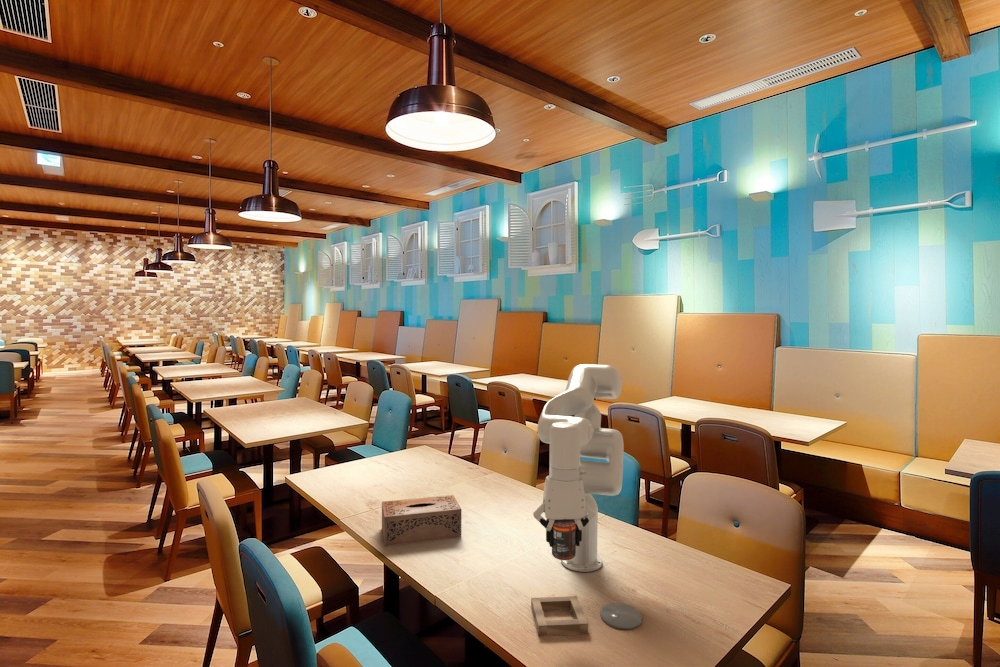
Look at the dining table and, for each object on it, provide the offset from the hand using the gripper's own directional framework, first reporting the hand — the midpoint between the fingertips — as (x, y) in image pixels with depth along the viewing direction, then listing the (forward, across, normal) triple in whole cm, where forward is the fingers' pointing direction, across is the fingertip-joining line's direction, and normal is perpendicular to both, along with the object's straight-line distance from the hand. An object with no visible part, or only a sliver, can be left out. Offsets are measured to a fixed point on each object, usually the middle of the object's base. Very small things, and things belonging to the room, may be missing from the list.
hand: (563, 543), depth 126 cm
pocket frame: (+19, +1, 0) cm, 19 cm away
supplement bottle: (+3, 0, 0) cm, 3 cm away
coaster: (+19, -15, 0) cm, 24 cm away
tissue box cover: (+20, +40, -53) cm, 69 cm away
